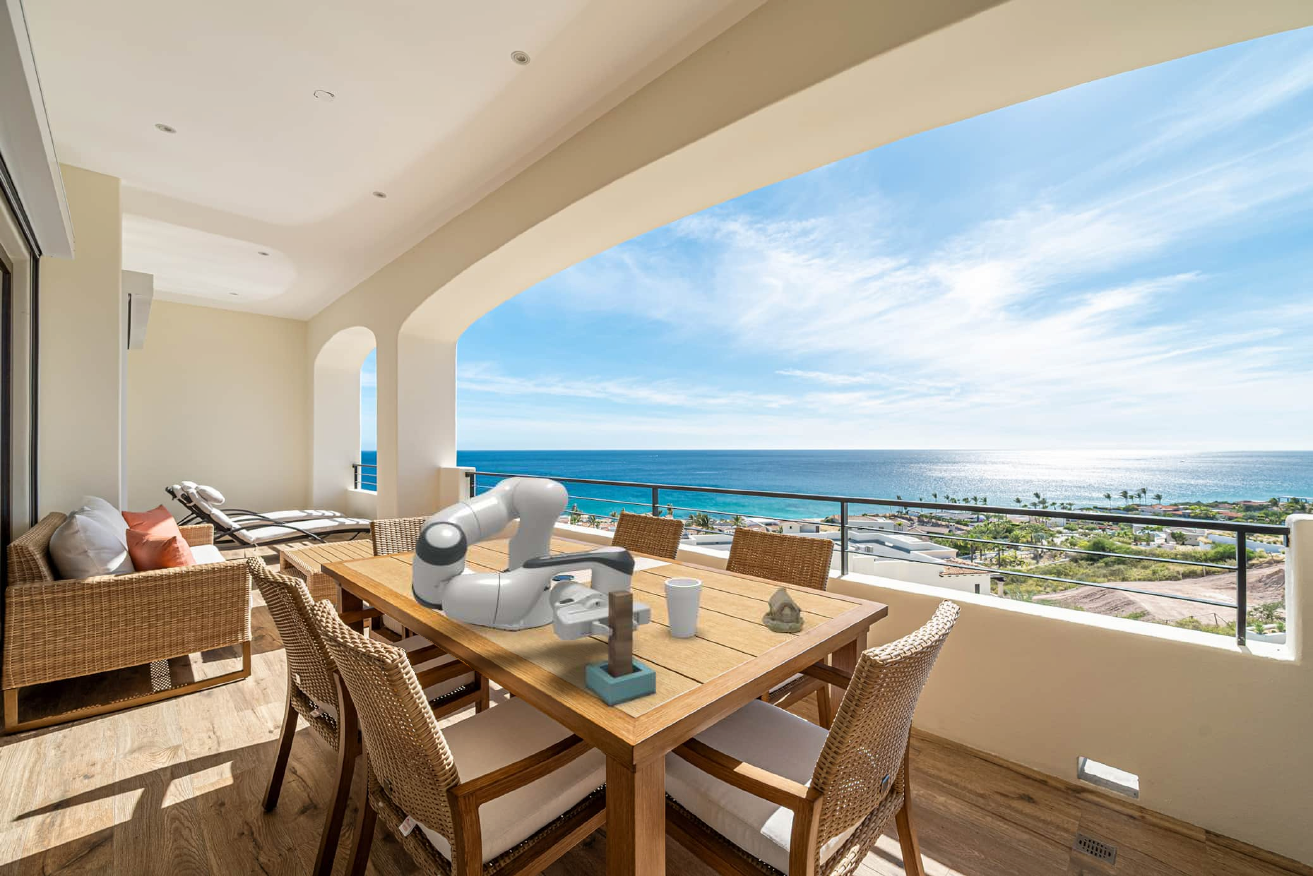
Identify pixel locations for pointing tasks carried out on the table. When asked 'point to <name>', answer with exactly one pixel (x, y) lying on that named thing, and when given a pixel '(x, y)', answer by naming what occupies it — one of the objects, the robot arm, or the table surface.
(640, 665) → the light blue square container
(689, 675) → the table surface
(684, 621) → the foam cup
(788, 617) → the ceramic model
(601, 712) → the table surface
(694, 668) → the table surface
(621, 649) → the wooden block
